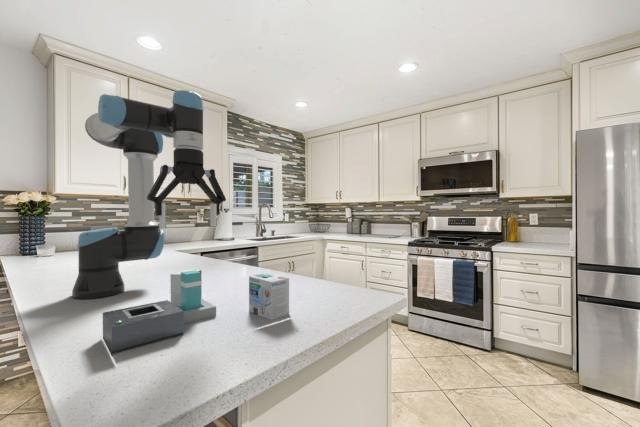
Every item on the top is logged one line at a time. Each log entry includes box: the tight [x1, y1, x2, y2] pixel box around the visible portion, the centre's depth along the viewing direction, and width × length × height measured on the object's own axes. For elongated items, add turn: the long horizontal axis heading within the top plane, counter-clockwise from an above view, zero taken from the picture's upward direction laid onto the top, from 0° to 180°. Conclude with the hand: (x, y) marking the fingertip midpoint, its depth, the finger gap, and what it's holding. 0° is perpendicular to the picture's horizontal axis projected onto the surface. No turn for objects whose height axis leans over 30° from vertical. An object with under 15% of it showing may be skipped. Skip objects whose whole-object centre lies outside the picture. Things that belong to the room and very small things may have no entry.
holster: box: [175, 298, 217, 325], centre depth 83 cm, size 10×10×3 cm
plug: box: [180, 269, 202, 311], centre depth 83 cm, size 4×4×12 cm
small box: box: [170, 268, 202, 305], centre depth 94 cm, size 8×6×10 cm
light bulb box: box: [248, 272, 290, 321], centre depth 85 cm, size 11×7×11 cm, turn 47°
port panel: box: [102, 299, 185, 357], centre depth 70 cm, size 12×14×6 cm
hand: (189, 227), depth 83 cm, fingers open, 13 cm apart
